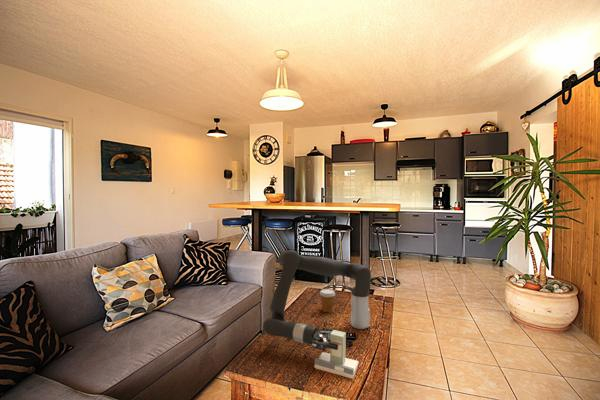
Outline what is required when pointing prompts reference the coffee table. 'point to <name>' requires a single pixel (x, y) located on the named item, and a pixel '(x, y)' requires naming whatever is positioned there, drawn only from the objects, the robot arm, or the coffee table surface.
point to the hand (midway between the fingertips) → (340, 342)
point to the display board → (336, 366)
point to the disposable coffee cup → (327, 299)
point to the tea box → (339, 354)
